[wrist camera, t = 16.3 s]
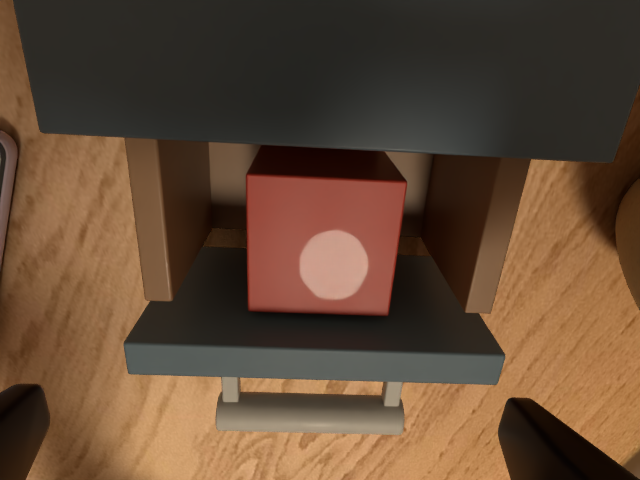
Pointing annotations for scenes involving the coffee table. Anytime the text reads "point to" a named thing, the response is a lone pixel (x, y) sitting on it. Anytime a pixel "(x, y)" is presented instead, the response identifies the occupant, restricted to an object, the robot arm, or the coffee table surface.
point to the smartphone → (6, 182)
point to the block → (322, 230)
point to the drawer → (317, 329)
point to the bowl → (630, 239)
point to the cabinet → (340, 73)
